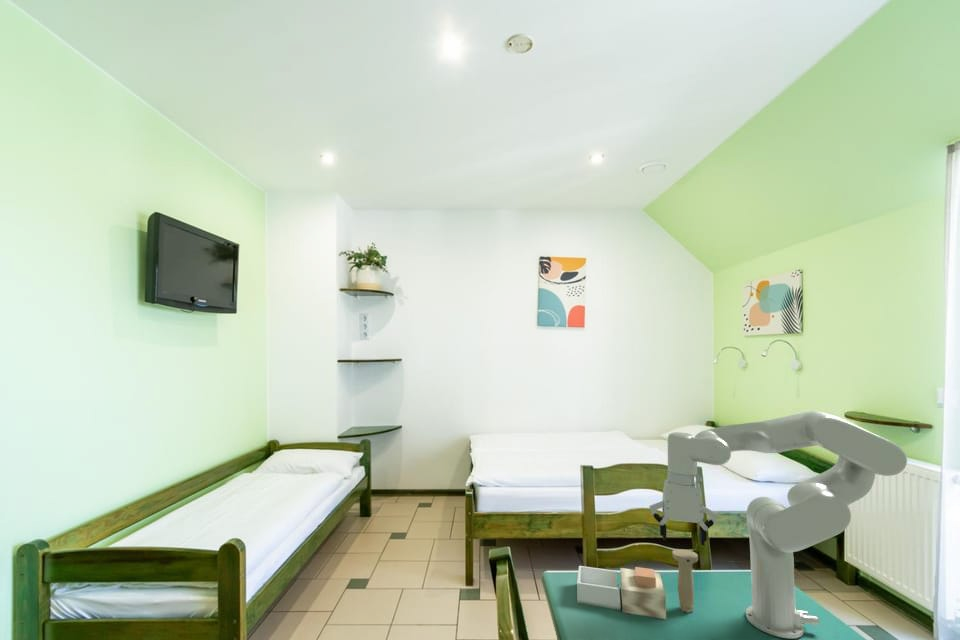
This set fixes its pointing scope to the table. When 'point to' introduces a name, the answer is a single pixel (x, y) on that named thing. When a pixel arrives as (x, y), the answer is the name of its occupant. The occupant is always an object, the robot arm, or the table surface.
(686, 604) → the handle
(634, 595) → the beige textured block
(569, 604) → the table surface
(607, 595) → the box
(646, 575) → the tile
